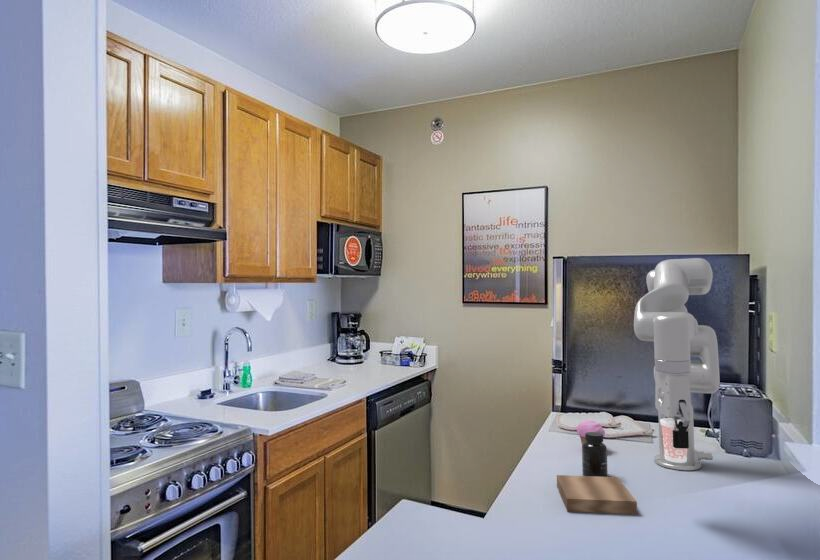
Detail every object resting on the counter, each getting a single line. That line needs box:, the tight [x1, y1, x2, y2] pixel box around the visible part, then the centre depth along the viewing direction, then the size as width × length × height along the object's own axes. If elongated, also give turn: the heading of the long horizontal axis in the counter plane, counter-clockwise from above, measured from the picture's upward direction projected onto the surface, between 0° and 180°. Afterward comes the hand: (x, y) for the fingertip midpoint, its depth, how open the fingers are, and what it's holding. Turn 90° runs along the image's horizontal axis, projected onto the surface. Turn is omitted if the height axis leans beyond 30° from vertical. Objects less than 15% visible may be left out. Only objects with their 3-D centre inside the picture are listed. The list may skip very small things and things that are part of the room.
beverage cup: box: [660, 418, 687, 463], centre depth 117 cm, size 6×6×14 cm
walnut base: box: [556, 474, 638, 515], centre depth 126 cm, size 16×16×3 cm
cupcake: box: [576, 420, 606, 445], centre depth 165 cm, size 9×9×10 cm
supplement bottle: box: [581, 432, 609, 477], centre depth 142 cm, size 7×7×12 cm
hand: (675, 442), depth 116 cm, fingers closed on beverage cup, 6 cm apart
